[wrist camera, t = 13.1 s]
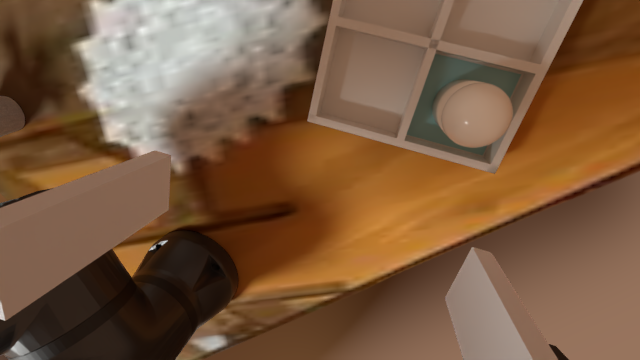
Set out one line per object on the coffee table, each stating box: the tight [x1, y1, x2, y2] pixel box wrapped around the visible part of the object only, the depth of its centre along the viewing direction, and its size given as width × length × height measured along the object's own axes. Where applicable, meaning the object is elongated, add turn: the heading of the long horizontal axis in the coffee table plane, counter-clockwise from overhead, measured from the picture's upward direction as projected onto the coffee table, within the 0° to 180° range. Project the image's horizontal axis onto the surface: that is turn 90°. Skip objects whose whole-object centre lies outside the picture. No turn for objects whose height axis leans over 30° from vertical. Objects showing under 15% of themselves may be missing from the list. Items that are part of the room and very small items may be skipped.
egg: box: [432, 79, 513, 148], centre depth 27 cm, size 6×6×9 cm
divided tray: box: [307, 0, 583, 174], centre depth 29 cm, size 20×20×4 cm
